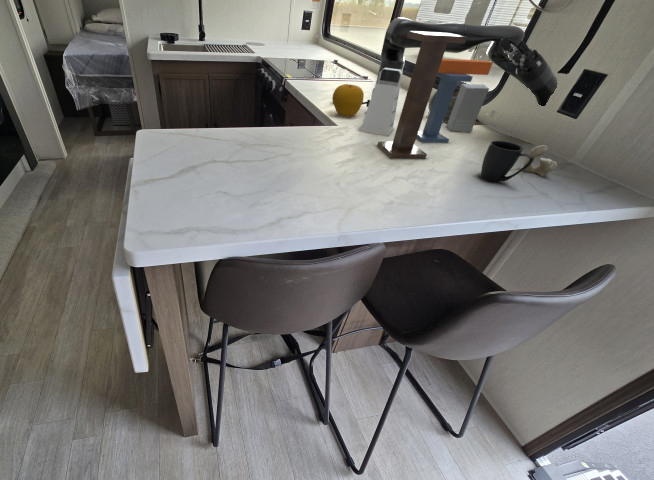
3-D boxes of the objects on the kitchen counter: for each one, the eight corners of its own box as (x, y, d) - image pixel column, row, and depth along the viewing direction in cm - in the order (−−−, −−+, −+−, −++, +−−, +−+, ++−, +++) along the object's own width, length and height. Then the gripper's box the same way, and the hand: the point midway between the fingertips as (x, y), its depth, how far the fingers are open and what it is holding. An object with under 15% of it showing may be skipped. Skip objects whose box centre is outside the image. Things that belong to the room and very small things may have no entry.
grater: (366, 124, 139) (380, 65, 125) (392, 128, 135) (409, 69, 122) (360, 130, 131) (373, 69, 118) (387, 135, 128) (404, 73, 115)
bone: (562, 170, 105) (570, 143, 98) (547, 184, 105) (554, 158, 97) (533, 162, 111) (538, 136, 103) (519, 176, 111) (523, 150, 103)
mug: (508, 191, 95) (527, 157, 89) (469, 175, 103) (484, 142, 96) (523, 186, 99) (543, 152, 92) (485, 171, 106) (500, 139, 100)
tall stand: (409, 146, 121) (446, 32, 99) (425, 158, 112) (469, 37, 90) (377, 145, 119) (407, 30, 98) (390, 158, 110) (427, 35, 89)
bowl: (467, 122, 148) (477, 96, 142) (440, 124, 143) (450, 97, 137) (443, 113, 158) (452, 88, 151) (417, 115, 153) (425, 89, 146)
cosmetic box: (465, 128, 141) (483, 83, 131) (471, 133, 136) (491, 87, 125) (444, 126, 142) (461, 82, 131) (450, 131, 136) (467, 86, 126)
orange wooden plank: (481, 72, 118) (485, 60, 115) (488, 74, 115) (493, 62, 112) (415, 70, 115) (419, 57, 112) (421, 72, 112) (424, 59, 110)
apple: (342, 120, 141) (348, 89, 133) (323, 112, 149) (328, 82, 141) (366, 118, 146) (373, 87, 138) (346, 110, 154) (352, 80, 146)
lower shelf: (433, 133, 134) (456, 69, 120) (449, 143, 125) (475, 76, 111) (409, 132, 133) (429, 68, 119) (423, 143, 124) (447, 75, 110)
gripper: (530, 58, 121) (506, 27, 114) (560, 65, 110) (536, 31, 103) (511, 79, 125) (486, 50, 118) (538, 87, 114) (513, 56, 107)
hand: (510, 41), depth 111 cm, fingers open, 8 cm apart
